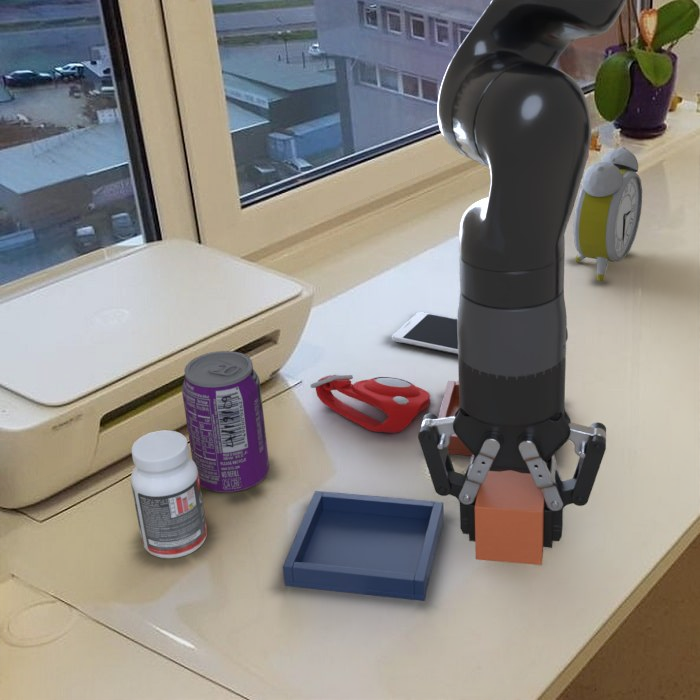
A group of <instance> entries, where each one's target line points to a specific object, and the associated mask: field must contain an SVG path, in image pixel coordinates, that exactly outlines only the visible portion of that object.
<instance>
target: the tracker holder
mask: <svg viewBox="0 0 700 700" xmlns="http://www.w3.org/2000/svg"><path fill="white" fill-rule="evenodd" d="M352 379H354V376H353V375H352V374H333V375H331V374H329V375H326V376H322V377H321V378H319V379H318V380H317V382H313V383H311V384H310V388H311V389H315V393H316V395H317V397H318V399H319V401H321V403H323V404H324V405H325V406H326V407H328V408H330V409H331V410H332V411H334V412H335V413H337V414H339V415H340V416H342V417H344V418H346V419H347V420H350V421H351V422H354V423H355V424H357V425H359V426H361V427H363V428H365V429H366V430H368V431H371V432H377V433H390V434H397V433H400V432H402V431H403V430H405V429H406V428H407V427H408V426H409V425H410V424H411V423H412V422H413V420H414V419H415V418H416V417H417V416H418V415H419V414H420V413H421V412H422V411H424V410H426V409H427V408H428V407H429V406H430V404H431V394H430V393H429V392H428V391H427V390H425V389H423V388H421V387H419V386H416V385H415V384H413V383H411V382H410V381H408V380H405V379H402V378H397V377H390V376H378V377H372V378H370V379H362V380H359V381H355V382H354V383H352V381H351V380H352ZM332 391H337V392H339V393H341V394H343V395H345V396H347V397H349V398H351V399H355V400H356V401H357V400H358V401H360V402H362V403H364V404H368V405H370V406H373V407H375V408H377V409H379V410H380V411H381V412H383V413H384V414H385V415H386V416H387V418H386V419H384V421H383V422H381V421H379V420H377V419H375V418H373V417H372V416H370V415H367V414H365V413H363V412H361V411H359V410H357V409H356V408H354V407H352V406H350V405H348V404H346V403H344V402H343V401H341V400H340V399H338V398H337V397H336V396H335V395H334V394H333V392H332Z"/></svg>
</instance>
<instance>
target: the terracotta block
mask: <svg viewBox="0 0 700 700" xmlns="http://www.w3.org/2000/svg"><path fill="white" fill-rule="evenodd" d="M544 504H545V500H544V498H543V496H542V493H541V491H540V489H537V487H536V485H535V482H534V480H533V478H532V475H531V474H529V473H520V472H516V471H500V472H498V471H489V472H488V474H487V476H486V478H485V480H484V483H483V485H481V487H480V489H479V491H478V494H477V497H476V502H475V541H474V542H475V543H474V544H475V545H474V548H475V550H474V551H475V560H477V561H478V560H479V561H489V562H500V563H501V562H502V563H515V564H527V565H537V566H542V565H543V559H544V558H543V557H544V548H545V547H543V529H544Z"/></svg>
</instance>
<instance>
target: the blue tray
mask: <svg viewBox="0 0 700 700" xmlns="http://www.w3.org/2000/svg"><path fill="white" fill-rule="evenodd" d="M444 507H445V506H444V501H436V500H435V501H434V500H426V499H416V498H415V499H413V498H412V499H411V498H403V497H390V496H379V495H370V494H369V495H368V494H359V493H358V494H356V493H347V492H346V493H344V492H333V491H323V490H322V491H321V490H315V491H314V492H313V494H312V497H311V499H310V502H309V504H308V507H307V509H306V511H305V513H304V516H303V518H302V521H301V523H300V526H299V527H298V531H297V532H296V534H295V538H294V539H293V542H292V544H291V547H290V549H289V551H288V553H287V556H286V558H285V561H284V563H283V565H282V572H283V581H284V586H286V587H295V588H302V589H303V588H305V589H314V590H321V591H322V590H323V591H329V592H330V591H331V592H340V593H347V594H348V593H349V594H359V595H368V596H375V597H376V596H377V597H384V598H385V597H386V598H395V599H405V600H412V601H413V600H414V601H423V602H424V601H426V597H427V596H426V595H427V592H428V589H429V583H430V580H431V575H432V571H433V567H434V563H435V559H436V554H437V550H438V546H439V542H440V537H441V534H442V529H443V526H444V525H443V524H444V521H445V516H444V515H445V514H444V513H445V512H444V509H445V508H444Z"/></svg>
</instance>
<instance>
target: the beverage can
mask: <svg viewBox="0 0 700 700" xmlns="http://www.w3.org/2000/svg"><path fill="white" fill-rule="evenodd" d="M183 370H184V380H183V383H182V385H181V395H182V401H183V408H184V414H185V415H184V416H185V421H186V428H187V434H188V441H189V447H190V448H189V449H190V453H191V454H190V455H191V459H192V460H193V461H194V462H195V464H196V466H197V469H198V475H199V481H200V487H203V488H204V489H207V490H208V491H213V492H218V493H231V492H239V491H243V490H246V489H250V488H252V487H254V486H255V485H258V484H259V483H260V482H261V481H263V480H264V479H265V478H266V476H267V475H268V473H269V471H270V460H269V452H268V451H269V450H268V443H267V433H266V424H265V415H264V408H263V407H264V406H263V397H262V389H261V381H260V377H259V375H258V373H257V372H256V370H255V369H254V364H253V360H252V359H251V358H250V357H249V355H247V354H245V353H242V352H238V351H232V350H219V351H218V350H217V351H212V352H207V353H203V354H201V355H198V356H196V357H195V358H193V359H191V360H190V361H188V362H187V364H186V365H185V367H184V369H183Z"/></svg>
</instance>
